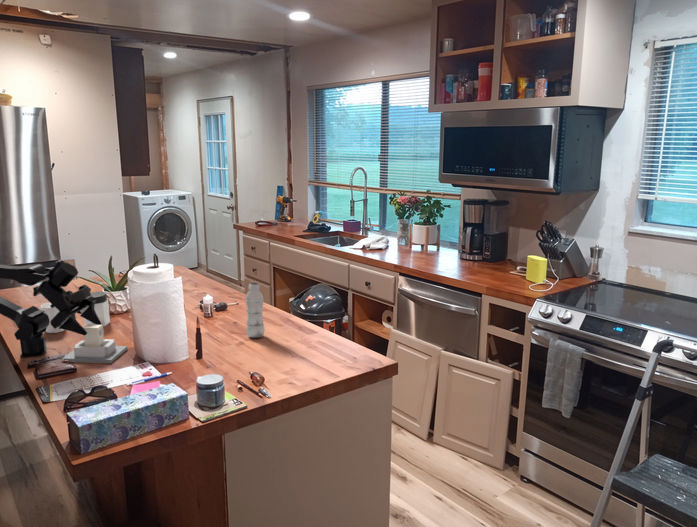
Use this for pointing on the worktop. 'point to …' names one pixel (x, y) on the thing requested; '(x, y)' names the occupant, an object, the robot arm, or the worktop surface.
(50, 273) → the robot arm
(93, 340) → the cream rectangular block
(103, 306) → the jar
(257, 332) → the plastic bottle
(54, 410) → the worktop surface
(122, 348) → the hinge base
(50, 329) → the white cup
